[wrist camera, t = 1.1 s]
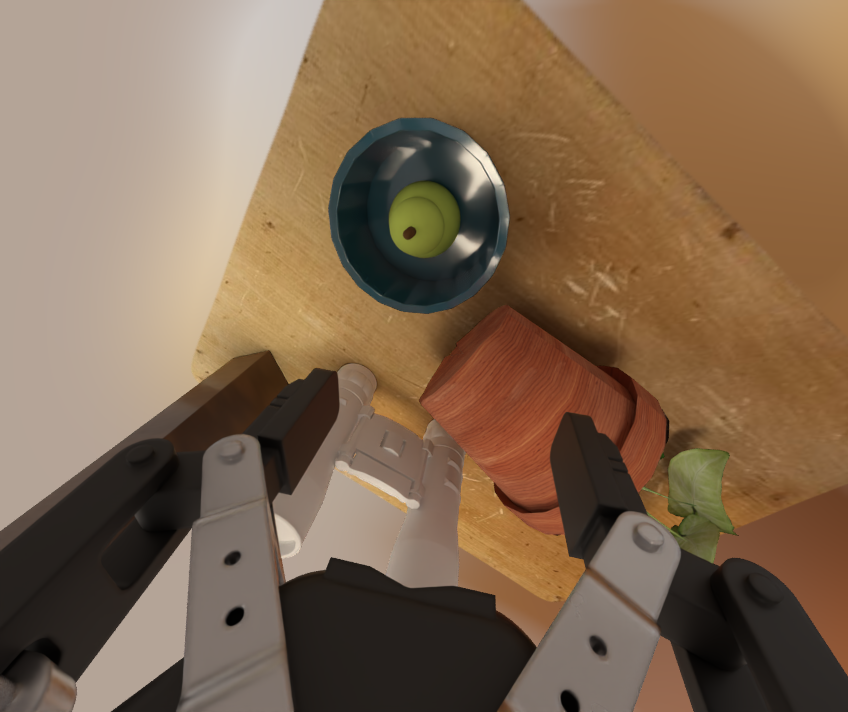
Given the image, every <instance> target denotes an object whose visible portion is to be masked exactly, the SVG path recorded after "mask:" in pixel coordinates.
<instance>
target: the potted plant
mask: <svg viewBox="0 0 848 712" xmlns="http://www.w3.org/2000/svg"><path fill="white" fill-rule="evenodd" d="M419 402H420V404H421V405H422V406H423V407H424V408H425V409H426V410H427V411H428V412H429V414H430V415H431V416H432V417H433V418H434V419H435V420H436V421H437V422H438V423H439V424H440V425H441V426H442V427H443V428H444V429H445V431H446V432H447V433H448V434H449V435H450V436H451V437H452V438H453V439H454V440H455V441H456V442H457V443H458V444H459V445H460V446H461V448H462V449H463V450H464V451H465V452H466V453H467V454H468V455H469V456H470V457H471V458H472V459H473V460H474V461H475V462H476V463H477V465H478V466H479V467H480V468H481V469H482V470H483V471H484V472H485V473H486V474H487V475H488V476H489V477H490V478H491V479H492V480H493V482H494V488H495V493H496V494H497V496H498V497H499V499H500V500H501V502H502V503H503V504H504V506H506V507H507V508H508V509H509V510H510V511H512V512H513V513H514V514H515V515H516V516H517V517H519V518H520V519H521V520H522V521H523V522H524V523H526V524H527V525H528V526H530V527H532V528H534V529H536V530H538V531H541V532H543V533H545V534H553V535H557V536H558V535H561V534H563V535H565V533H564V528H563V523H562V518H561V513H560V508H559V503H558V498H557V493H556V488H555V483H554V479H553V474H552V469H551V464H550V451H551V446H552V443H553V440H554V438H555V435H556V433H557V430H558V427H559V425H560V422H561V420H562V417H563V415H564V414H565V413H566V412H571V413H577V414H582V415H588V416H591V417H592V419H593V422H594V424H595V427H596V429H597V432H598V433H603V434H606V435H607V436H608V437H609V438H610V439H611V440H612V442H613V443H614V444H615V445H616V446H617V447H618V449H619V452H620V454H621V456H622V458H623V462H624V463H625V465H626V467H627V469H628V474H630V476H631V478H632V480H633V483H634V485H635V487H636V489H637V491H638V493H639V492H640V491H641V489H643V490H646V491H649V492H653V493H656V492H654V491H652V490H650V489H648V488H646V487H644V486H645V484H646V483H647V482H648V481H649V480H650V478H651V477H652V476H653V474H654V471H655V469H656V467H657V464H658V462H659V460H660V459H662V458H664V457H665V456H664V454H663V450H664V448H665V444H666V443H667V441H668V439H669V419H668V418H667V416H666V415H665V413H664V412H663V410H662V409H661V407H660V404H659V402H658V400H657V399H656V398H655V397H653V396H652V395H651V394H650V393H649V392H648V391H646V390H645V389H644V388H643V387H642V386H641V385H639V384H638V383H637V382H636V381H635V380H634V379H632V378H631V377H630V376H628V375H627V374H626V373H624V372H623V371H621V370H620V369H619V368H615V367H607V366H595V365H593V364H592V363H591V362H589V361H588V360H586V359H585V358H583V357H582V356H580V355H579V354H577V353H576V352H575V351H573V350H572V349H570V348H569V347H567V346H566V345H564V344H563V343H562V342H560V341H559V340H557V339H556V338H554V337H553V336H551V335H550V334H548V333H547V332H546V331H544V330H543V329H541V328H540V327H538V326H537V325H535V324H534V323H533V322H531V321H530V320H528V319H527V318H525V317H524V316H522V315H521V314H519V313H518V312H517V311H515V310H514V309H512V308H511V307H509V306H508V305H504V306H501V307H499V308H497V309H496V310H494V311H493V312H491V313H490V314H489V315H487V316H486V317H485V318H484V319H482V320H481V321H480V322H479V323H478V324H477V325H476V326H475V327H474V328H473V329H472V330H471V331H470V332H469V333H467V334H466V335H465V336H464V337H463V338H462V339H461V340H460V341H458V342H457V343H456V348H455V349H454V350H453V351H452V353H451V354H450V356H446V357H445V358H444V359H443V361H442V362H441V364H440V366H439V367H438V369H437V371H436V372H435V374H434V375H433V377H432V378H431V380H430V381H429V383H428V385H427V387H426V389H425V391H424V393H423V395H422V396H421V398H420V399H419ZM729 456H730V455H729V453H728V452H726V451H722V450H710V449H698V448H696V449H691V450H687V451H683V452H680V453H679V454H678V455H676V456H675V457H673V458H672V459H671V460H670V463H669V467H668V476H669V478H668V479H669V496H668V497H666V498H668V503H669V505H668V511H669V512H670V513H672V514H674V515H675V516H680V517H684V519H683V520H682V522H681V523H680V525H679V526H677V525H674V526H673V527H672V528H671V529H670V528H668V527H667V526H665V525H664V524H662V523H661V522H660V521H658V520H657V519H656V518H654V517H653V516H652V515H650V514H649V513H648V512H647V514H648V516H650V517H652V518H653V519H655V520H657V521H658V522H659V523H661V524H662V525H663V526H664V527H666V528H667V529H668V530H669V531H670V533H671V534H672V535H673V536H674V538H675V539H676V541H677V543H678V545H679V547H680V548H682V549H684V550H685V551H687V552H690V553H692V554H694V555H696V556H698V557H700V558H702V559H705V560H707V561H709V562H711V563H713V562H714V559H715V553H716V547H717V543H718V540H719V534H720V533H719V532H724V533H728V534H733V535H737V534H736V533H734V532H733V530H734V527H733V526H732V523H731V520H730V519H729V517H728V516H727V515H726V513H725V509H724V506H723V503H722V500H721V491H722V489H721V488H722V484H721V481H722V477H723V471H724V468H725V464H726V462H727V460H728V459H729ZM656 494H658V493H656ZM658 495H660V494H658ZM661 496H663V495H661ZM663 497H665V496H663Z"/></svg>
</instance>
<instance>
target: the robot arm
mask: <svg viewBox="0 0 848 712" xmlns="http://www.w3.org/2000/svg"><path fill="white" fill-rule="evenodd" d="M339 407H340V402H339V383H338V374H337V372H336V371H331V370H325V369H320V368H315V369H313V371H312V372H311V373H310V374H309V375H308V376H307V378H306V379H305V380H302V379H298V380H296V381H294V382H292V383H291V384H289V385H287V386H285V388H284V389H283V390H282V391H281V392H280V393H279V394H278V395H277V398H276V397H275V398H274V399H273V401H272V402H271V403H270V405H268V406H267V407H266V408H265V409H264V410H263V411H262V413H261V414H260V415H259V416H258V417H257V418H256V419H255V420H254V421H253V422H252V423H251V424H250V426H249V427H248V428H247V429H246V430H245V431H244V432H243V433H242V434H238V435H231V436H228V437H225V438H223V439H221V440H219V441H217V442H215V443H214V444H213V445H211V446H210V447H209V448H208V449H207V450H204V451H189V452H176V451H175V448H174V446H173V444H172V443H171V442H170V441H169V440H166V439H162V438H153V439H147V440H142V441H139V442H136V443H134V444H131V445H130V446H128V447H126V448H124V449H122V450H121V451H120V452H118V453H117V454H116V455H115V456H113V457H112V458H111V459H110V460H109V461H107V462H106V463H105V464H104V465H103V466H101V467H100V468H99V469H98V470H97V471H95V472H94V473H93V474H92V475H91V476H89V477H88V478H87V479H86V480H85V481H83V482H82V483H81V484H80V485H79V486H77V487H76V488H75V489H74V490H73V491H71V492H70V493H69V494H68V495H67V496H65V497H64V498H63V499H62V500H61V501H59V502H58V503H57V504H56V505H55V506H53V507H52V508H51V509H50V510H49V511H48V512H46V513H45V514H44V515H43V516H42V517H40V518H39V519H38V520H37V521H36V522H34V523H33V524H32V525H31V526H30V527H28V528H27V529H26V530H25V531H24V532H22V533H21V534H20V535H19V536H18V537H16V538H15V539H14V540H13V541H12V542H10V543H9V544H8V545H7V546H6V547H4V548H3V549H2V550H1V551H0V712H72V710H73V707H74V704H75V701H76V695H77V687H76V682H77V680H78V679H79V678H80V676H81V675H82V674H83V672H84V671H85V670H86V668H87V667H88V666H89V664H90V663H91V662H92V660H93V659H94V658H95V656H96V655H97V654H98V652H99V651H100V650H101V648H102V647H103V646H104V644H105V643H106V642H107V640H108V639H109V638H110V636H111V635H112V634H113V632H114V631H115V630H116V628H117V627H118V626H119V624H120V623H121V622H122V620H123V619H124V618H125V616H126V615H127V614H128V612H129V611H130V610H131V608H132V607H133V606H134V604H135V603H136V601H137V600H138V599H139V598H140V596H141V595H142V594H143V592H144V591H145V590H146V588H147V587H148V586H149V584H150V583H151V582H152V580H153V579H154V578H155V576H156V575H157V574H158V572H159V571H160V570H161V568H162V567H163V566H164V564H165V563H166V562H167V560H168V559H169V558H170V556H171V555H172V553H173V552H174V551H175V549H176V548H177V547H178V546H179V544H180V543H181V542H182V540H183V539H184V538H185V536H186V535H187V534H188V532H189V531H190V530H191V528H192V537H191V555H190V570H189V586H188V603H187V620H186V636H185V652H184V657H183V658H182V659H181V660H179V661H178V662H177V663H175V664H174V665H173V666H171V667H170V668H169V669H168V670H166V671H165V672H163V673H162V674H161V675H159V676H158V677H157V678H155V679H154V680H153V681H151V682H150V683H149V684H147V685H146V686H145V687H143V688H142V689H141V690H139V691H138V692H137V693H135V694H134V695H133V696H131V697H130V698H129V699H127V700H126V701H125V702H123V703H122V704H121V705H119V706H118V707H117V708H115V709H114V710H113V711H111V712H633V710H634V707H635V704H636V701H637V699H638V696H639V693H640V690H641V688H642V684H643V682H644V679H645V676H646V674H647V671H648V668H649V665H650V662H651V659H652V657H653V654H654V651H655V648H656V646H657V643H658V640H659V637H660V635H661V636H663V637H664V638H666V639H668V640H670V641H671V644H672V647H673V650H674V654H675V656H676V660H677V663H678V666H679V668H680V672H681V675H682V678H683V681H684V684H685V687H686V690H687V693H688V696H689V699H690V702H691V705H692V708H693V711H694V712H848V676H847V674H846V673H845V672H844V670H843V668H842V667H841V665H840V664H839V663H838V661H837V659H836V658H835V656H834V655H833V653H832V652H831V650H830V649H829V647H828V645H827V644H826V642H825V641H824V639H823V638H822V637H821V635H820V633H819V632H818V630H817V629H816V627H815V626H814V624H813V623H812V621H811V620H810V618H809V616H808V615H807V614H806V612H805V611H804V609H803V607H802V606H801V604H800V603H799V601H798V600H797V598H796V597H795V596H794V594H793V593H792V592H791V591H790V590H789V589H788V588H787V587H786V585H784V583H782V582H781V581H780V580H779V579H778V578H777V577H776V576H774V575H773V574H771V573H770V572H769V571H767V570H766V569H764V568H762V567H761V566H759V565H757V564H755V563H753V562H750V561H748V560H744V559H740V558H730V559H727V560H726V561H725V562H724V563H723V564H722V565H721V566H718V565H715V564H713V563H711V562H709V561H707V560H705V559H702V558H700V557H698V556H696V555H694V554H692V553H690V552H687V551H685V550H684V549H682V548H680V547H679V545H678V543H677V541H676V539H675V538H674V536H673V535H672V534H671V533H670V532H669V530H668V529H667V528H666V527H664V526H663V525H662V524H661V523H659V522H658V521H657V520H655V519H653V518H652V517H650V516H648V514H647V511H646V509H645V507H644V505H643V502H642V500H641V498H640V496H639V494H638V491H637V489H636V487H635V485H634V483H633V480H632V478H631V476H630V474H628V469H627V467H626V465H625V463H624V462H623V458H622V456H621V454H620V452H619V449H618V447H617V446H616V445H615V444H614V443H613V442H612V440H611V439H610V438H609V437H608V436H607V435H606V434H603V433H598V432H597V429H596V427H595V424H594V422H593V419H592V417H591V416H588V415H582V414H577V413H571V412H566V413H565V414H564V415H563V417H562V420H561V422H560V425H559V427H558V430H557V433H556V435H555V438H554V440H553V443H552V446H551V451H550V464H551V469H552V474H553V479H554V483H555V488H556V493H557V498H558V503H559V508H560V513H561V518H562V523H563V528H564V533H565V538H566V543H567V547H568V552H569V556H570V557H575V558H579V559H584V563H585V567H586V570H585V571H584V573H583V575H582V576H581V578H580V579H579V581H578V583H577V584H576V586H575V587H574V589H573V591H572V592H571V594H570V595H569V597H568V599H567V600H566V602H565V604H564V605H563V607H562V608H561V610H560V611H559V613H558V615H557V616H556V618H555V619H554V621H553V623H552V624H551V626H550V627H549V629H548V631H547V632H546V634H545V636H544V637H543V639H542V640H541V642H540V643H539V645H538V647H536V646H535V644H534V643H533V642H532V640H531V639H530V638H529V637H528V636H527V635H526V634H525V633H524V632H523V631H522V629H520V628H519V627H518V626H517V625H516V624H515V623H514V622H513V621H512V620H510V619H509V618H507V617H506V616H505V615H503V614H502V613H500V612H498V611H496V607H495V606H496V604H495V595H492V594H488V593H483V592H479V591H475V590H470V589H466V588H461V587H457V586H438V587H420V588H409V587H406V586H404V585H402V584H400V583H399V582H397V581H395V580H393V579H391V578H390V577H388V576H386V575H384V574H383V573H381V572H379V571H377V570H375V569H374V568H372V567H370V566H366V565H362V564H358V563H354V562H349V561H345V560H341V559H336V558H332V557H331V558H330V561H329V563H328V566H327V568H326V570H322V571H316V572H310V573H307V574H304V575H301V576H298V577H296V578H294V579H292V580H289V581H287V582H286V580H285V575H284V570H283V564H282V558H281V552H280V546H279V539H278V533H277V526H276V520H275V513H274V507H273V501H274V499H275V498H276V496H277V495H278V493H282V494H287V495H292V493H293V492H294V490H295V488H296V487H297V485H298V483H299V482H300V480H301V478H302V477H303V475H304V473H305V472H306V470H307V468H308V467H309V465H310V463H311V462H312V460H313V458H314V457H315V455H316V453H317V452H318V450H319V448H320V447H321V445H322V443H323V442H324V440H325V438H326V437H327V435H328V433H329V432H330V430H331V428H332V427H333V425H334V423H335V422H336V420H337V417H338V413H339ZM133 516H135V517H136V518H135V519H134V520H133V521H132V522H131V523H130V524H129V525H128V526H127V527H126V528H125V529H124V531H123V532H122V533H121V534H120V535H119V536H118V537H117V538H116V539H115V540H114V541H113V542H112V543H111V545H110V546H109V547H108V548H107V549H106V550H105V551H104V549H105V548H106V546H107V545H108V543H109V542H110V541H111V540H112V539H113V538H114V536H115V535H116V534H117V533H118V532H119V531H120V530H121V529H122V528H123V527H124V526H125V525H126V524H127V523H128V522H129V520H130V519H131V518H132V517H133ZM103 551H104V552H103Z"/></svg>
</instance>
